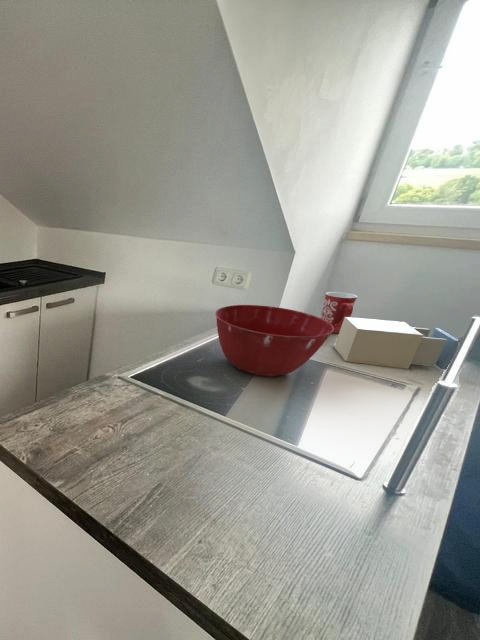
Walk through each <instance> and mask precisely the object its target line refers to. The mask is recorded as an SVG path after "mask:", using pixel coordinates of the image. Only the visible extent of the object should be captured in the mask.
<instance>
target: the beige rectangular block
mask: <svg viewBox="0 0 480 640" xmlns="http://www.w3.org/2000/svg"><path fill="white" fill-rule="evenodd" d="M414 328H415V327H414ZM414 328H412V326H411V325H410V324H408V323H407V322H405V321H398V320H388V319H387V320H385V319H374V318H362V317H352V316H350V317H345V318H344V321H343V324H342V326H341V329H340V332H339V333H338V335H337V338H336V341H335V344H334V349H335V350H336V352H337V353H338V354H339V355H340V356H341V357H342V359H343V360H344V361H345V362H347V363H348V362H349V363H357V364H364V365H373V366H374V365H375V366H383V367H389V368H397V369H406V370H409V368H410V366H411V365H412V364H411V362H412V360H413V358H414V355H415V353H416V351H417V349H418V346H419V344H420V342H421V340H422V337H423V334H421V333H420V332H418V331H417V330H415V329H414Z"/></svg>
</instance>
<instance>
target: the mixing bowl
mask: <svg viewBox="0 0 480 640" xmlns="http://www.w3.org/2000/svg"><path fill="white" fill-rule="evenodd" d="M214 314H215V315H214V316H215V320H216V327H217V329H216V330H217V335H218V341H219V344H220V347H221V350H222V353H223V355H224V357H225V358H226V359H227V361H228V362H229V363H230V364H231V365H233V366H234V367H235V368H237V370H240V371H242V372H245V373H248V374H251V375H255V376H261V377H279V376H283V375H287V374H289V373H292V372H296V370H298V369H299V368H301V367H302V366H303V365H304V364H306V363H307V362H308V361H309V360H310V359H311V358H312V357H313V356H314V355H315V354H316V353H317V352H318V351H319V350H320V348H321V347H322V346H323V344H324V343H325V342H326V341H327V339H328V338H329V336H330V335H331V334H333V333H332V332H333V331H334V327H333V326H332V325H331V324H330V323H329V322H327V321H325V320H323V319H321V318H320V317H319V316H316V315H313V314H311V313H310V314H309V313H306V312H303V311H298V310H296V309H295V310H294V309H289V308H283V307H277V306H269V305H258V304H234V305H233V304H232V305H227V306H223V307H220V308H218V309H216V311H215V313H214Z"/></svg>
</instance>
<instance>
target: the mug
mask: <svg viewBox="0 0 480 640" xmlns="http://www.w3.org/2000/svg"><path fill="white" fill-rule="evenodd" d="M324 296H325V297H324V300H323V304H322V309H321V313H320V317H319V318H321V319H323V320H325V321H327V322H329V323H330V324H331V325H332V326H333V327H334V331H333V332H332V333H331V334H339V332H340V329H341V326H342V324H343V321H344V318H345V317H352V314H353V311H354V305H355V303H356V301H357V299H358V297H359V296H358V295H357V294H353V293H348V292H343V291H342V292H340V291H328V292H325V294H324Z"/></svg>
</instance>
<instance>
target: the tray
mask: <svg viewBox="0 0 480 640" xmlns="http://www.w3.org/2000/svg"><path fill="white" fill-rule="evenodd" d="M411 327H412V326H411ZM412 328H414V329H415V330H417V331H418V332H420V333H421V334H423V337H422V340H421V342H420V344H419V346H418V349H417V351H416V353H415V355H414V358H413V360H412V362H411V364H410V365H417V366H425V367H435V366H437V368H439V369H440V370H445V371H447V370H448V369H447V367H448V365H449V364H450V365H451V362H452V360H453V359H454V356H455V354H456V353H457V352H456V350H457V347H458V340H459V339H458V338H456V337H455V336H453V335H452V334H450V333H448V332H446V331H444V330H443V329H442V328H440V327H434V329H433V330H432V332H431V329H430V328H423V327H412ZM430 332H431V335H430ZM429 335H430V336H429ZM428 336H429V337H428ZM469 350H470V351H469V353H468V354H467V355H470V354H471V353H472V350H471V349H469ZM450 365H449V366H450ZM448 368H449V367H448ZM446 369H447V370H446Z"/></svg>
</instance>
